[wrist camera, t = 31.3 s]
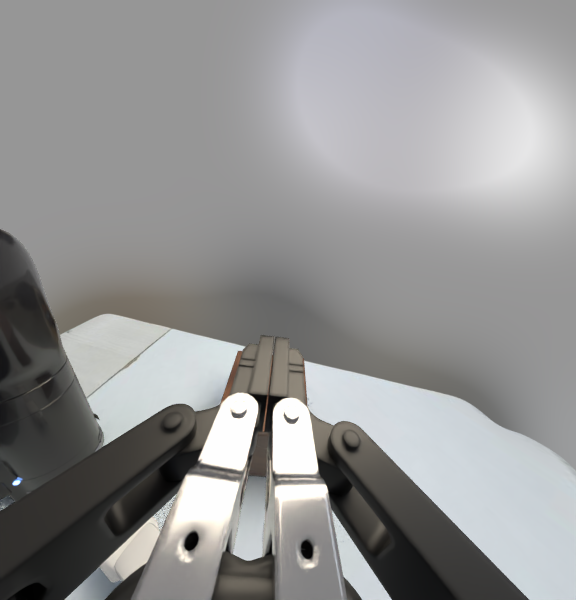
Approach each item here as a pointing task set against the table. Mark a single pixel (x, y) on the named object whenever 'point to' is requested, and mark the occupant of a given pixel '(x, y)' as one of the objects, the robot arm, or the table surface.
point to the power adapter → (132, 552)
